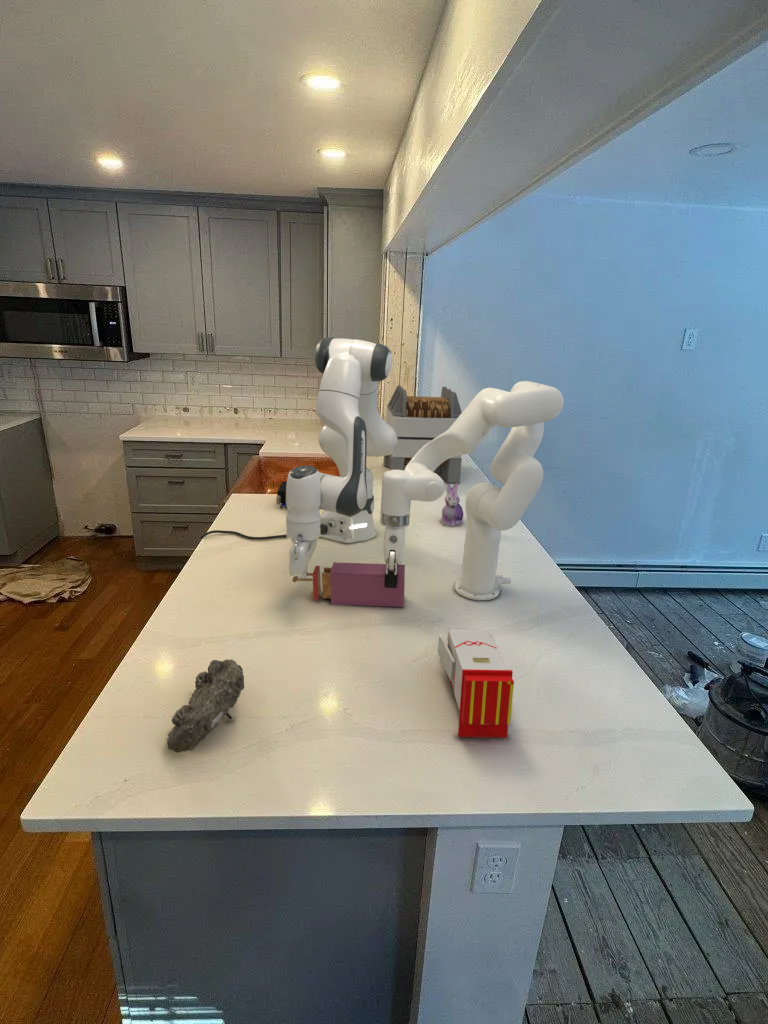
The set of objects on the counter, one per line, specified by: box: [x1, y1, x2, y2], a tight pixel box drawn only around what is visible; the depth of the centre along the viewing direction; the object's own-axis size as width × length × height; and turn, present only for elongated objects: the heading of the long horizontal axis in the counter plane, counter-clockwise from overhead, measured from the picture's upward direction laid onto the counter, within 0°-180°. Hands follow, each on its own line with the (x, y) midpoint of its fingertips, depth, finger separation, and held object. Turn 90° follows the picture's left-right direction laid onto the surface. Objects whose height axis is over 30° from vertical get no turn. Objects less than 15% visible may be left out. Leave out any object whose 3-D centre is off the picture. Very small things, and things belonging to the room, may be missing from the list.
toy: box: [437, 628, 515, 738], centre depth 117 cm, size 12×13×30 cm
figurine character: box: [275, 480, 287, 509], centre depth 223 cm, size 7×8×15 cm
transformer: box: [383, 384, 463, 484], centre depth 268 cm, size 34×33×41 cm
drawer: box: [291, 565, 332, 601], centre depth 152 cm, size 24×5×8 cm, turn 87°
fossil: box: [166, 658, 245, 754], centre depth 106 cm, size 22×10×15 cm
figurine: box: [440, 483, 464, 527], centre depth 210 cm, size 9×10×15 cm
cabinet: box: [330, 561, 406, 608], centre depth 152 cm, size 19×6×9 cm, turn 87°
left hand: (303, 577), depth 151 cm, fingers closed, pressing on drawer
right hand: (391, 580), depth 151 cm, fingers closed on cabinet, 6 cm apart
